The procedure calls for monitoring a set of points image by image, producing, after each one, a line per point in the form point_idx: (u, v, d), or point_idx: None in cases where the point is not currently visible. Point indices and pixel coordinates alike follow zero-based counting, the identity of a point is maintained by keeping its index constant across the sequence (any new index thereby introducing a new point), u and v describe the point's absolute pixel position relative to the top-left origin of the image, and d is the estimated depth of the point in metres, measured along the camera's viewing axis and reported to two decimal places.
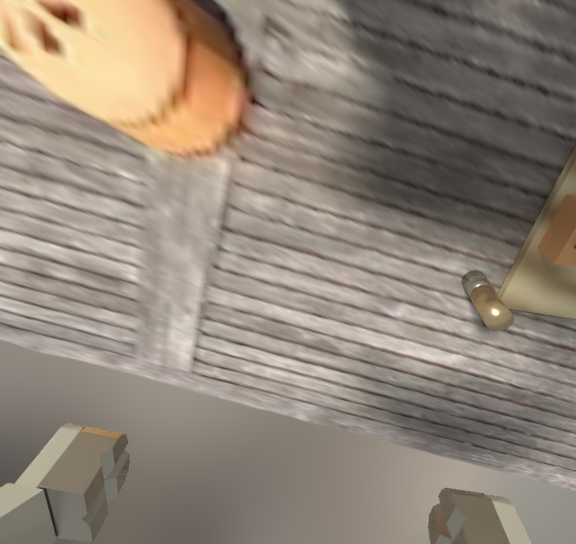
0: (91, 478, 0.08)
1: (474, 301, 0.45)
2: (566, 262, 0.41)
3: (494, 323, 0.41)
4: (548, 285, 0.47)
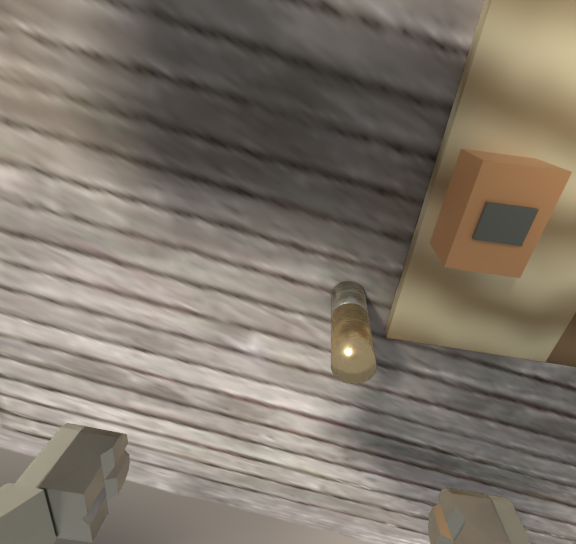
0: (91, 478, 0.08)
1: None
2: (464, 264, 0.24)
3: (346, 370, 0.24)
4: (458, 304, 0.30)
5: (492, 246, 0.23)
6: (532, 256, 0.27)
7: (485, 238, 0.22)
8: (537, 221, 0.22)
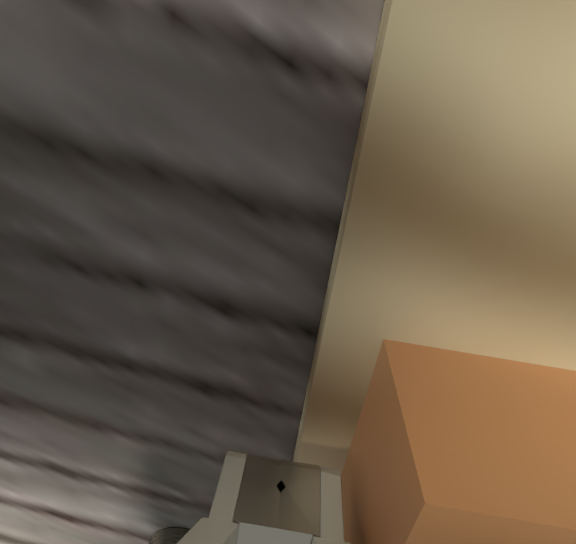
0: (278, 511, 0.07)
1: None
2: None
3: None
4: None
5: None
6: None
7: None
8: None
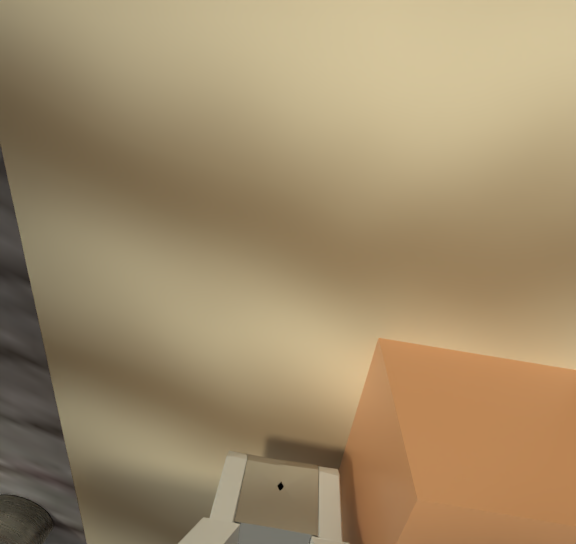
0: (279, 511, 0.07)
1: None
2: None
3: None
4: None
5: None
6: None
7: None
8: None
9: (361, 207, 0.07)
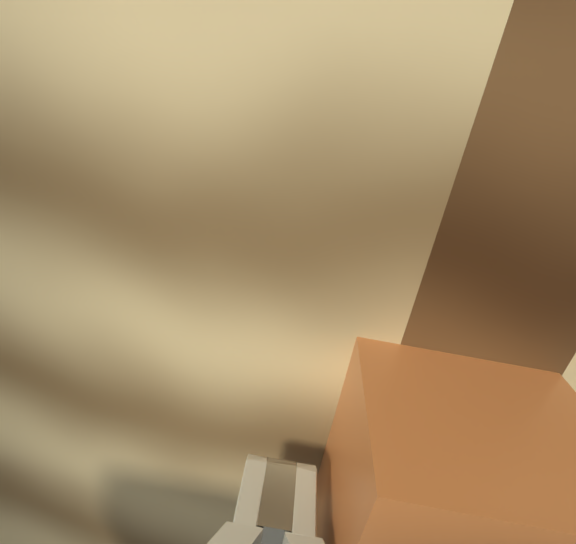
0: (301, 514, 0.07)
1: None
2: None
3: None
4: (94, 543, 0.14)
5: None
6: (189, 479, 0.12)
7: None
8: None
9: (150, 176, 0.08)
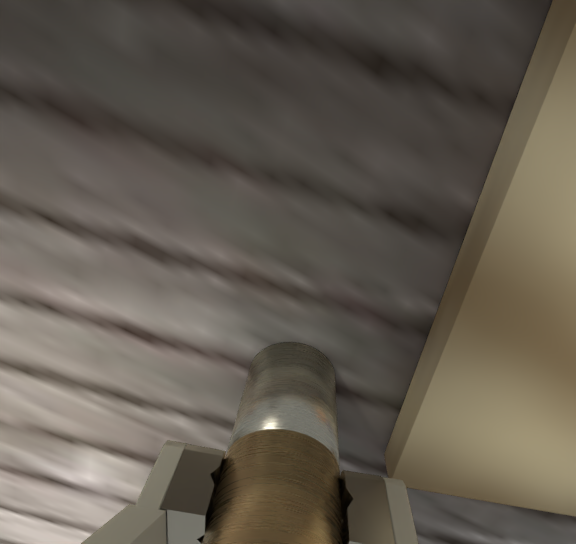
0: (207, 498, 0.08)
1: None
2: None
3: None
4: None
5: None
6: None
7: None
8: None
9: None
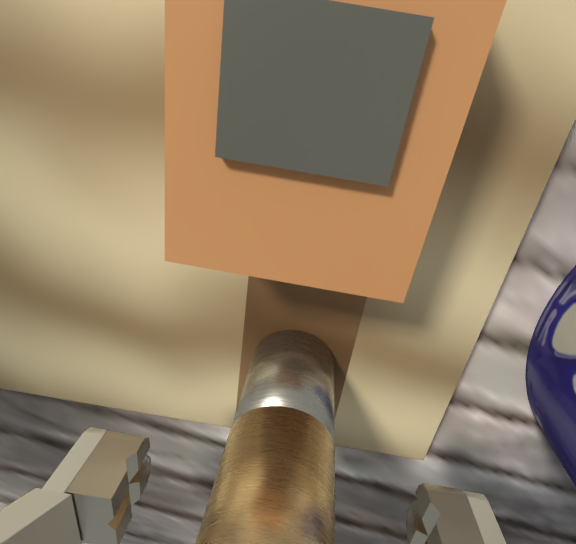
0: (117, 483, 0.08)
1: None
2: (222, 254, 0.07)
3: None
4: (1, 302, 0.13)
5: (295, 190, 0.07)
6: (86, 180, 0.11)
7: (256, 152, 0.06)
8: (440, 85, 0.06)
9: None
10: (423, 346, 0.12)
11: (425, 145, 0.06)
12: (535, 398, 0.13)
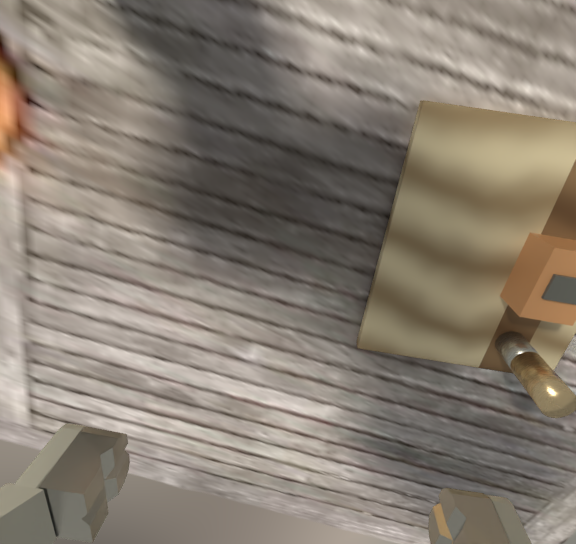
0: (91, 478, 0.08)
1: (518, 374, 0.35)
2: (533, 315, 0.33)
3: (553, 407, 0.31)
4: (410, 322, 0.39)
5: (554, 303, 0.32)
6: (461, 287, 0.37)
7: (551, 298, 0.32)
8: None
9: (487, 191, 0.32)
10: (556, 336, 0.38)
11: None
12: None
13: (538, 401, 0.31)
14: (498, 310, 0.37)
